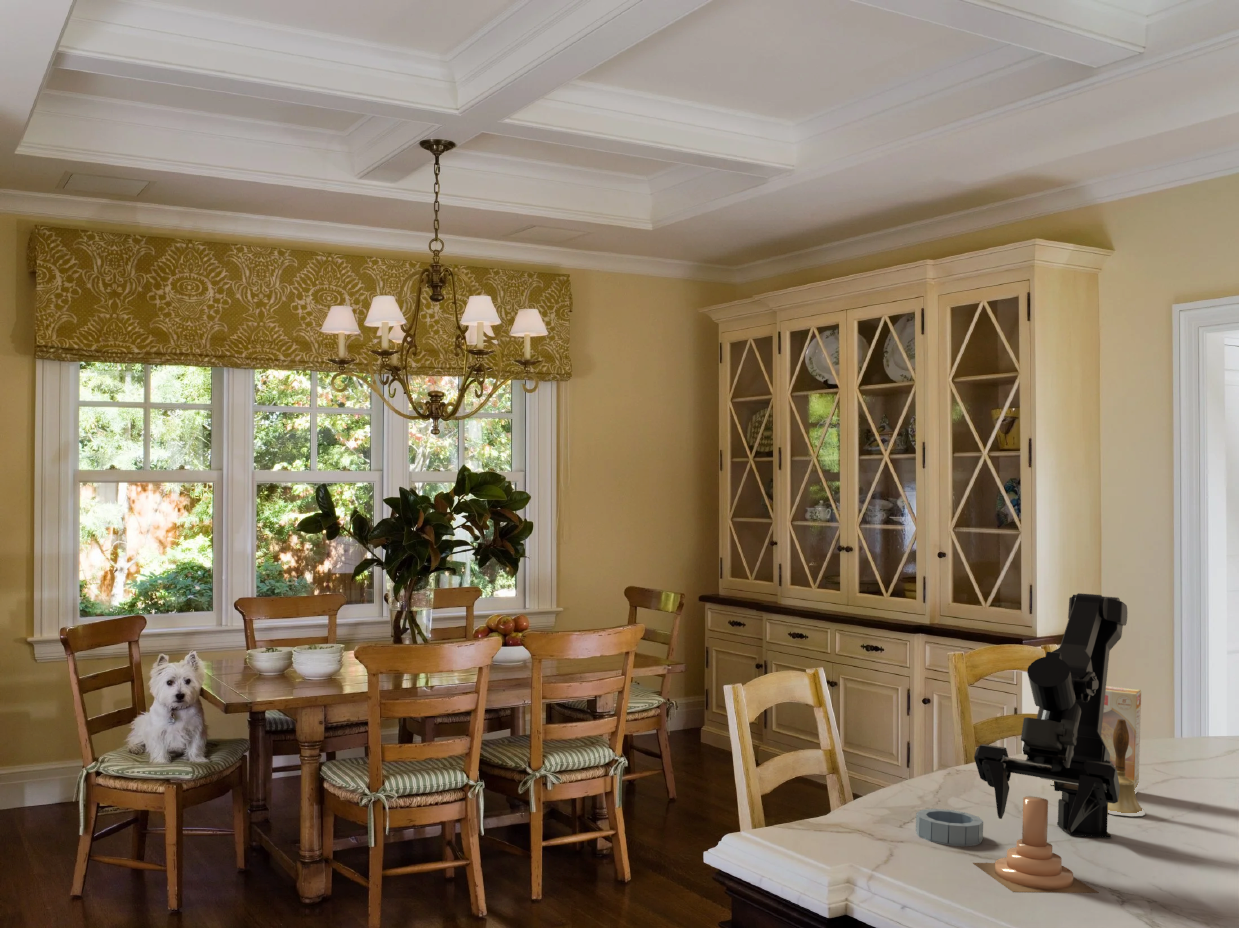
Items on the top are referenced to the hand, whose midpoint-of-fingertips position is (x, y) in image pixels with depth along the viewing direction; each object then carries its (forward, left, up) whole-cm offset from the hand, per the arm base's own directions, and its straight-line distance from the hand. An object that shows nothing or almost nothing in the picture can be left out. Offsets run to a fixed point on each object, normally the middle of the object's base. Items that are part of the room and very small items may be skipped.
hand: (1033, 823), depth 149 cm
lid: (0, -1, -7) cm, 7 cm away
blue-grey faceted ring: (+7, -19, -8) cm, 21 cm away
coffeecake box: (-31, -62, -8) cm, 70 cm away
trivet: (0, -1, -8) cm, 8 cm away
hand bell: (-29, -45, -8) cm, 54 cm away
